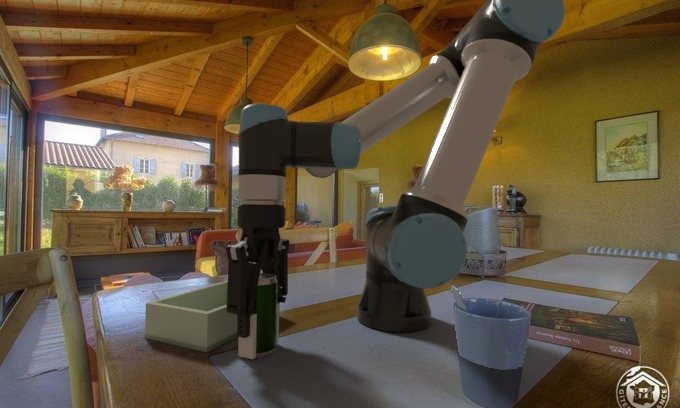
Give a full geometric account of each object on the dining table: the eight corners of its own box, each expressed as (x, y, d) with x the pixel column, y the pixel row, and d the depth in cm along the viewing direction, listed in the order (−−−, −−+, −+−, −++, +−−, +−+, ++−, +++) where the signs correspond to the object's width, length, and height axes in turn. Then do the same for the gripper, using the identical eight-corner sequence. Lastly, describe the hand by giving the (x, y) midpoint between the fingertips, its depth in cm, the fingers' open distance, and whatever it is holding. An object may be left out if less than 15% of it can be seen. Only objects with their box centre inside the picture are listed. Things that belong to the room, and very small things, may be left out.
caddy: (278, 315, 70) (278, 287, 70) (206, 352, 51) (207, 314, 51) (226, 307, 75) (227, 280, 75) (144, 337, 57) (145, 303, 57)
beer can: (252, 361, 48) (253, 280, 49) (235, 350, 52) (237, 274, 53) (283, 351, 52) (284, 275, 52) (265, 341, 56) (266, 270, 56)
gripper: (274, 204, 63) (272, 326, 62) (199, 201, 46) (196, 369, 45) (309, 204, 60) (307, 333, 59) (243, 202, 43) (239, 381, 42)
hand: (259, 348), depth 52 cm, fingers closed on beer can, 5 cm apart
